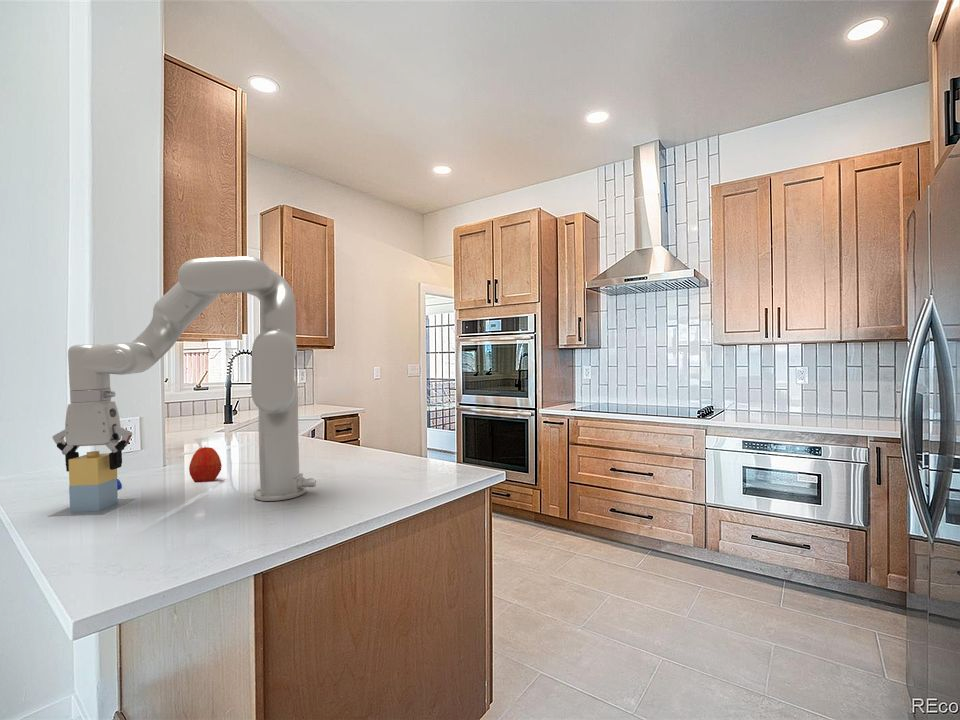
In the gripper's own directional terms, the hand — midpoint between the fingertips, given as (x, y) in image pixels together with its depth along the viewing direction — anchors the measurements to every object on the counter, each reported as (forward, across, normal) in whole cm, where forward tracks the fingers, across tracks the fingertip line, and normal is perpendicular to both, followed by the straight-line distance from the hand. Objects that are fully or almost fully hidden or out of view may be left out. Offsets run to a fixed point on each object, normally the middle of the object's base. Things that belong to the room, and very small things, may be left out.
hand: (94, 469), depth 117 cm
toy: (+10, +11, -17) cm, 23 cm away
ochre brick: (+3, 0, 0) cm, 3 cm away
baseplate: (+10, 0, 0) cm, 10 cm away
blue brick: (+9, 0, 0) cm, 9 cm away
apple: (+10, -14, -24) cm, 29 cm away
